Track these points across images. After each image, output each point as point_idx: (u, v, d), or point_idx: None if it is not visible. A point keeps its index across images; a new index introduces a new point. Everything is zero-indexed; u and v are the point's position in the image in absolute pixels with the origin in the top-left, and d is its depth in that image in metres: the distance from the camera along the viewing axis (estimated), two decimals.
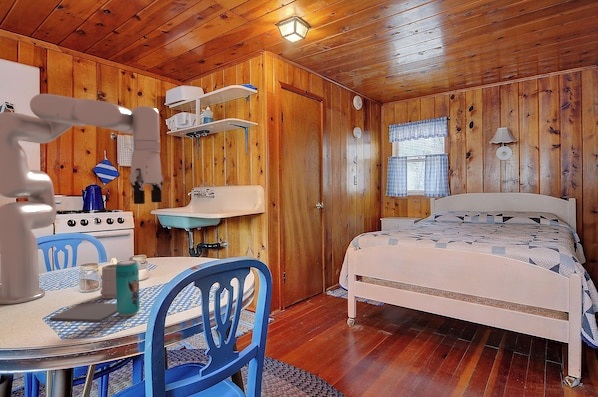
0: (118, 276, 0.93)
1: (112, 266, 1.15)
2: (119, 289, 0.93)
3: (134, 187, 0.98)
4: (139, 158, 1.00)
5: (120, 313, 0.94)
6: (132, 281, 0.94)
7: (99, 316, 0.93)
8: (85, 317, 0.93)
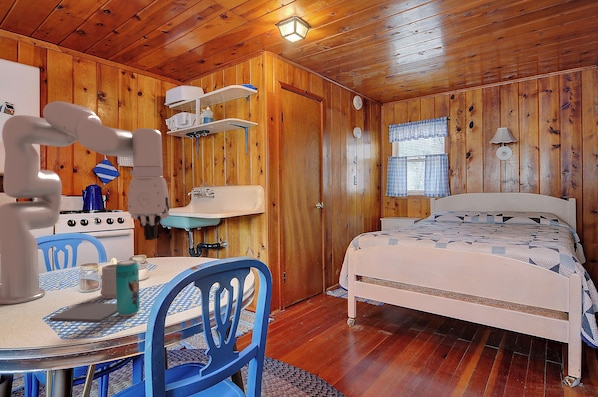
0: (118, 276, 0.93)
1: (112, 266, 1.15)
2: (119, 289, 0.93)
3: (157, 222, 0.94)
4: (165, 186, 0.94)
5: (120, 313, 0.94)
6: (132, 281, 0.94)
7: (99, 316, 0.93)
8: (85, 317, 0.93)
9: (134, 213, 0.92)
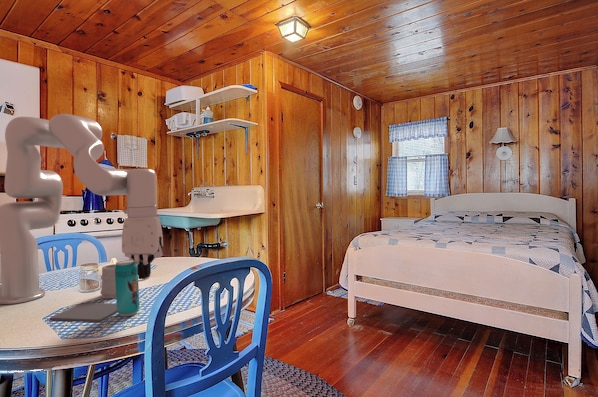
0: (118, 276, 0.93)
1: (112, 266, 1.15)
2: (119, 289, 0.93)
3: (151, 260, 0.95)
4: (159, 225, 0.95)
5: (120, 313, 0.94)
6: (131, 281, 0.94)
7: (99, 316, 0.93)
8: (85, 317, 0.93)
9: (128, 253, 0.93)
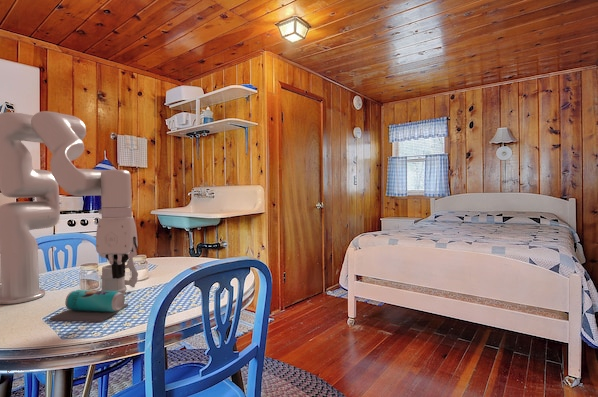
0: (75, 305, 0.95)
1: None
2: (87, 305, 0.95)
3: (125, 260, 0.96)
4: (133, 226, 0.96)
5: (110, 306, 0.94)
6: (84, 293, 0.96)
7: (99, 316, 0.93)
8: (85, 317, 0.93)
9: (102, 252, 0.94)
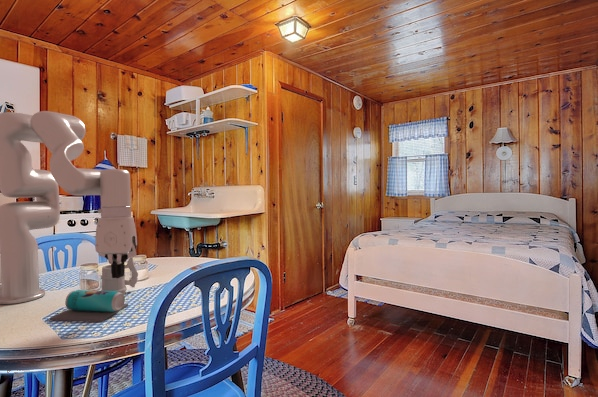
0: (75, 305, 0.95)
1: None
2: (87, 305, 0.95)
3: (124, 260, 0.96)
4: (133, 225, 0.96)
5: (110, 306, 0.94)
6: (84, 293, 0.96)
7: (99, 316, 0.93)
8: (85, 317, 0.93)
9: (101, 252, 0.94)
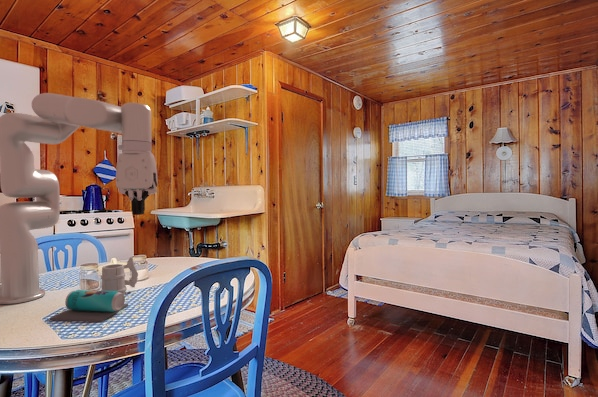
0: (75, 305, 0.95)
1: (112, 266, 1.15)
2: (87, 305, 0.95)
3: (145, 197, 0.94)
4: (154, 162, 0.94)
5: (110, 306, 0.94)
6: (84, 293, 0.96)
7: (99, 316, 0.93)
8: (85, 317, 0.93)
9: (122, 187, 0.92)
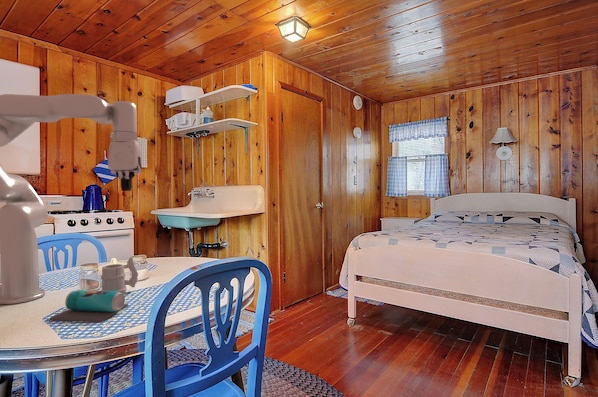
0: (75, 305, 0.95)
1: (112, 266, 1.15)
2: (87, 305, 0.95)
3: (131, 176, 1.18)
4: (138, 148, 1.17)
5: (110, 306, 0.94)
6: (84, 293, 0.96)
7: (99, 316, 0.93)
8: (85, 317, 0.93)
9: (113, 168, 1.16)
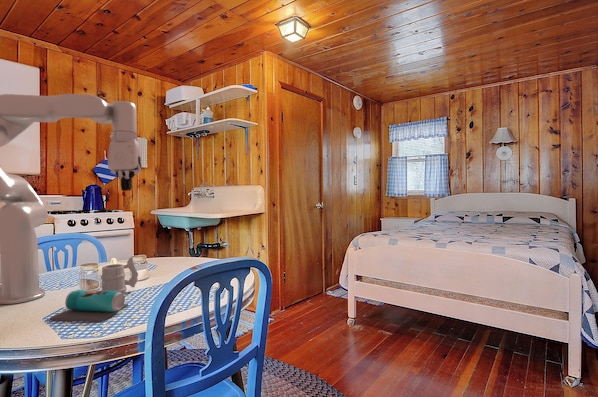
0: (75, 305, 0.95)
1: (112, 266, 1.15)
2: (87, 305, 0.95)
3: (131, 176, 1.18)
4: (138, 148, 1.18)
5: (110, 306, 0.94)
6: (84, 293, 0.96)
7: (99, 316, 0.93)
8: (85, 317, 0.93)
9: (113, 168, 1.16)
